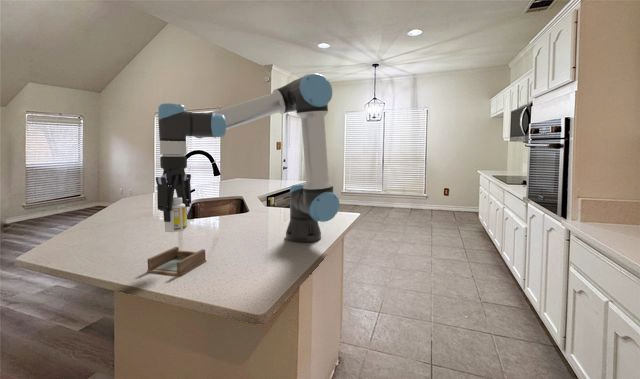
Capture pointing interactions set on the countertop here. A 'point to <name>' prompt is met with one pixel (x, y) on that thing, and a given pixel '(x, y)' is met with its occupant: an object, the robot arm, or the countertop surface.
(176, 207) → the supplement bottle
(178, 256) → the u rest
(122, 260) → the countertop surface
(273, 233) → the countertop surface
